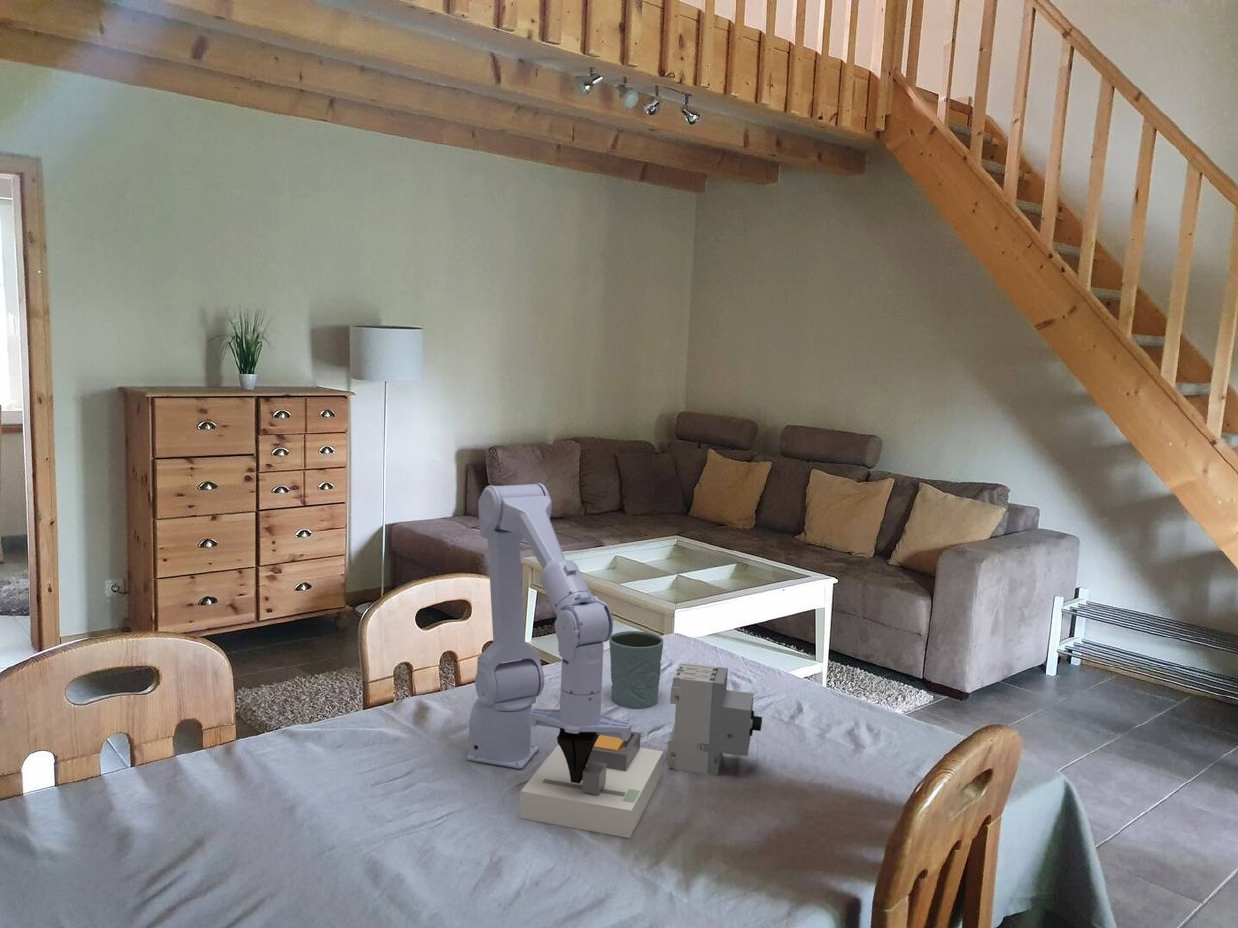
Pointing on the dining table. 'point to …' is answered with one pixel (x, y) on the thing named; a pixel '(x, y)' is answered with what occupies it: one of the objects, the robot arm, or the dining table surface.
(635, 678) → the green cylindrical pot
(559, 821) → the slider control box
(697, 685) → the circuit breaker
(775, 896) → the dining table surface
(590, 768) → the block
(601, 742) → the button
